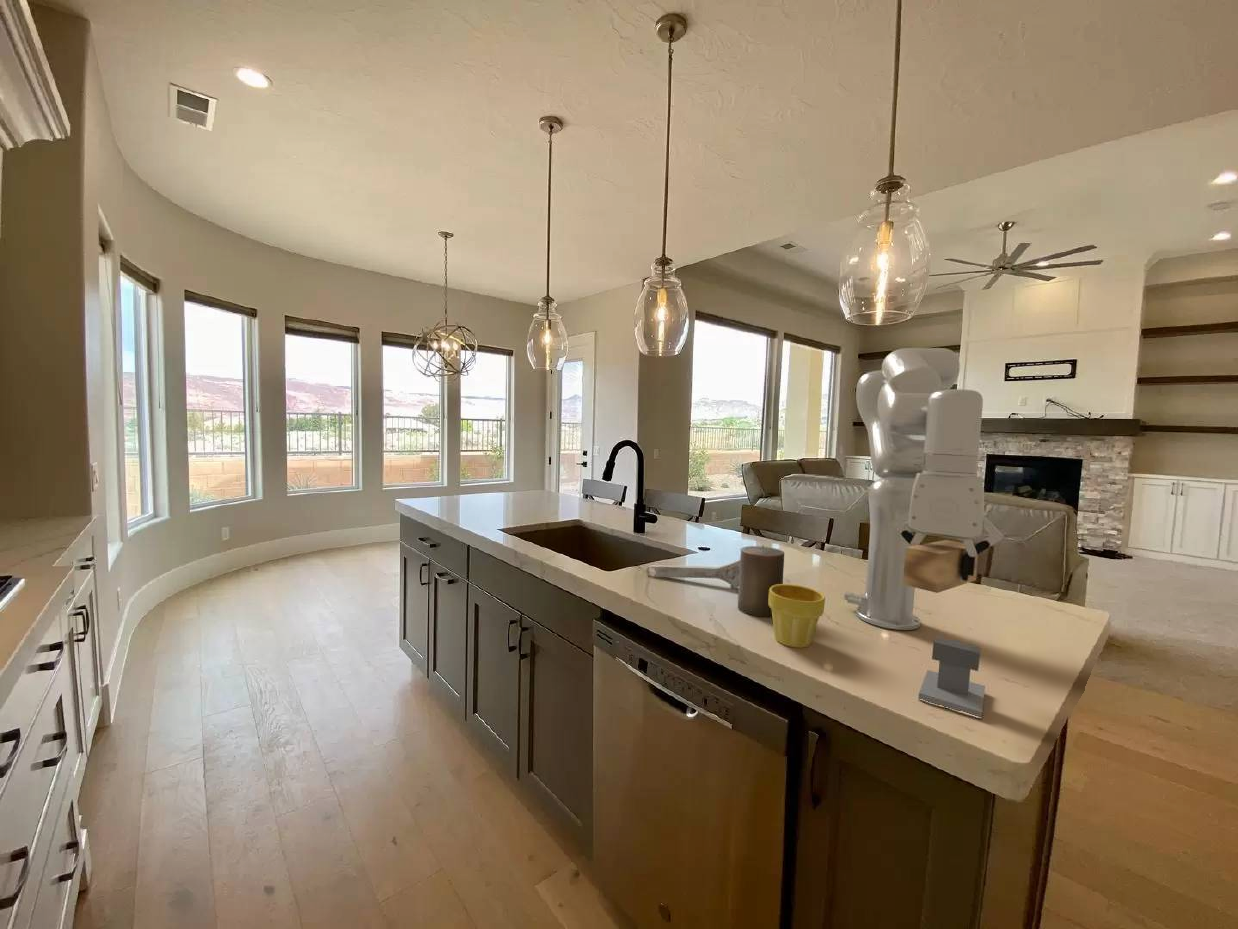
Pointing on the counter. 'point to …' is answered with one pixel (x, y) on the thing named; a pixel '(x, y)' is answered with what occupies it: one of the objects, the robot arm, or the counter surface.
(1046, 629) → the counter surface
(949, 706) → the stand
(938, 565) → the oak block
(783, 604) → the plant pot
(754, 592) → the pillar candle
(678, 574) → the wrench
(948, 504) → the robot arm
